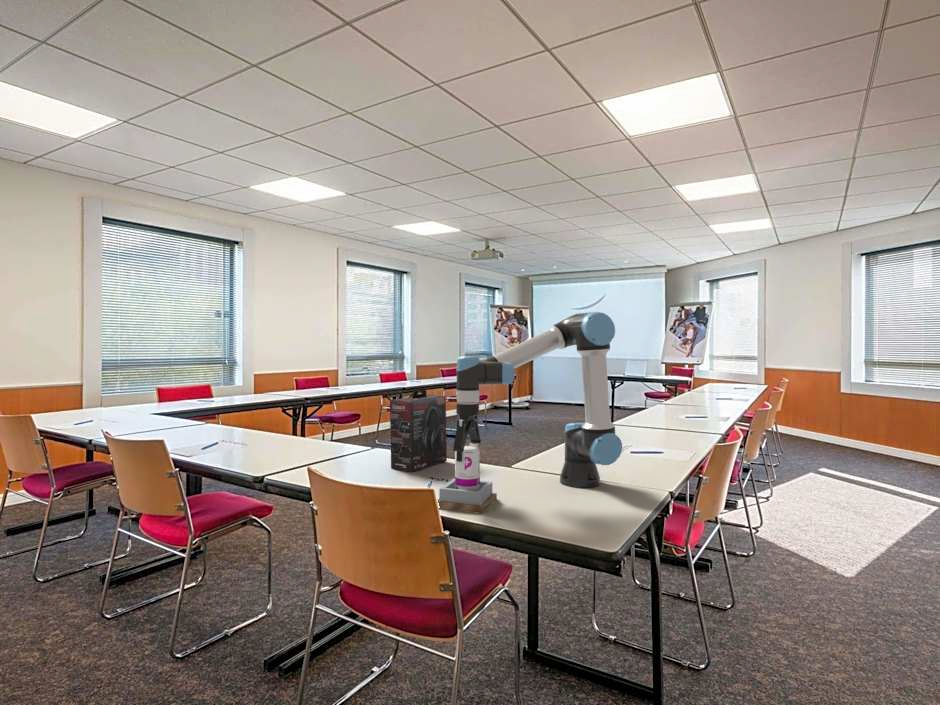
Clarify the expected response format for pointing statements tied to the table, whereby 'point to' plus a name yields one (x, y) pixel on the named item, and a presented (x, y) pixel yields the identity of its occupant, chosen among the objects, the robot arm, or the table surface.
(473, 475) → the supplement can
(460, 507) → the walnut slab
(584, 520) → the table surface
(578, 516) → the table surface
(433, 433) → the headset box
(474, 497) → the grey rimmed block
